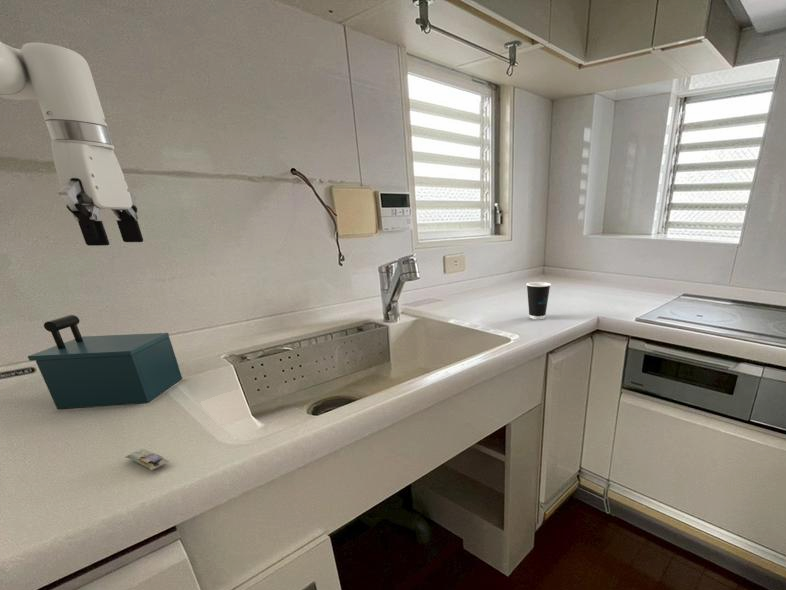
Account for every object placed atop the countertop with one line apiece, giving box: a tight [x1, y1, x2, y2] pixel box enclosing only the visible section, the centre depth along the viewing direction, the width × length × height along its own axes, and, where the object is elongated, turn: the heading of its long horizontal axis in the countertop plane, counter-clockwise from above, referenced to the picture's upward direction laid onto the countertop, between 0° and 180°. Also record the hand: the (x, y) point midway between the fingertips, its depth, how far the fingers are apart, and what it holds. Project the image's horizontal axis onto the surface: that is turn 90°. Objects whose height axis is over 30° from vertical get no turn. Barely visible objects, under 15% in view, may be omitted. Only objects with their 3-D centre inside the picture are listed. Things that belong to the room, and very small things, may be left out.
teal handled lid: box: [27, 314, 170, 362], centre depth 71 cm, size 14×12×6 cm
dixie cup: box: [525, 281, 552, 320], centre depth 130 cm, size 8×8×11 cm
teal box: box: [35, 336, 183, 410], centre depth 73 cm, size 14×12×9 cm
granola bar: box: [124, 448, 170, 471], centre depth 53 cm, size 7×2×1 cm, turn 64°
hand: (117, 243), depth 74 cm, fingers open, 9 cm apart
